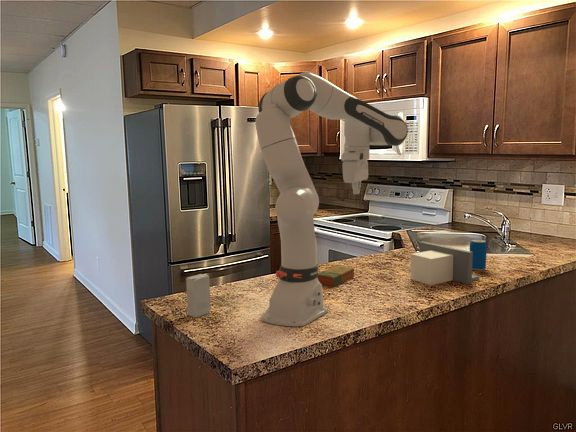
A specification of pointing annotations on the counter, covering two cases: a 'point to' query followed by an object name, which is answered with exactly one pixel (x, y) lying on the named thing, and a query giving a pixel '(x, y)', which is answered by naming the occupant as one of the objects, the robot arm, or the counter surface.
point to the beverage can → (478, 254)
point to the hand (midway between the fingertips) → (356, 193)
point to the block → (431, 267)
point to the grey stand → (455, 261)
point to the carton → (335, 275)
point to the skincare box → (198, 295)
